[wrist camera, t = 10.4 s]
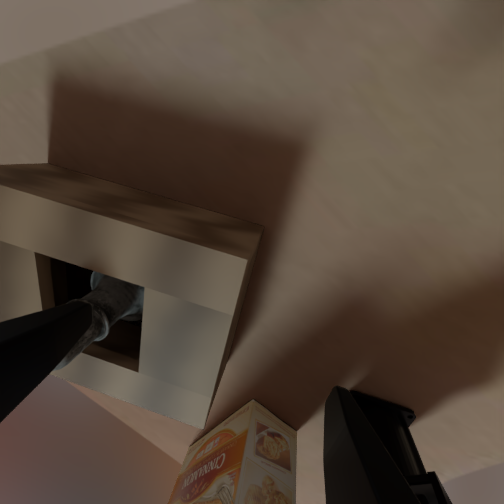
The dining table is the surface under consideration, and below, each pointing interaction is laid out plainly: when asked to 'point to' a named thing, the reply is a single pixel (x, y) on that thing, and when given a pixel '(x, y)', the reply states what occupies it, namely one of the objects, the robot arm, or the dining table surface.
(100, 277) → the grey chess piece
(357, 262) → the dining table surface
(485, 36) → the dining table surface
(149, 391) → the beige rectangular hollow block
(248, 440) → the coffeecake box
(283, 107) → the dining table surface
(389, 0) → the dining table surface
